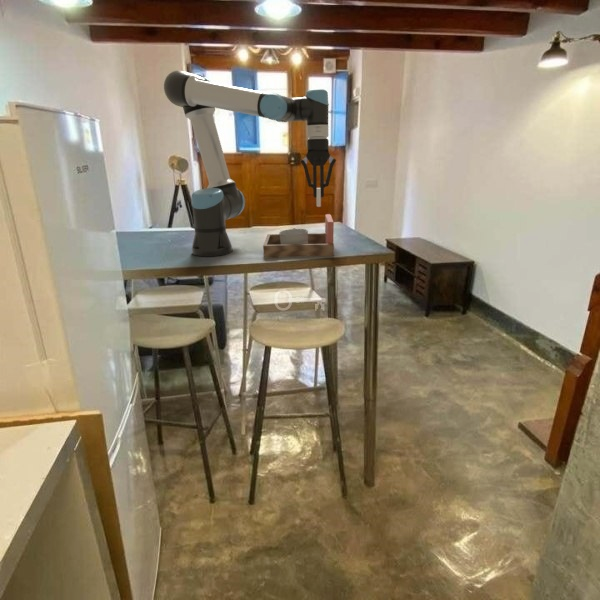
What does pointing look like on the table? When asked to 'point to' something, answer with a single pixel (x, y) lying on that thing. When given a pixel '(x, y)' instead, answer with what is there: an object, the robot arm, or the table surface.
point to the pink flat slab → (329, 229)
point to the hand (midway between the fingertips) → (318, 206)
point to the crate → (297, 247)
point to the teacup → (294, 236)
